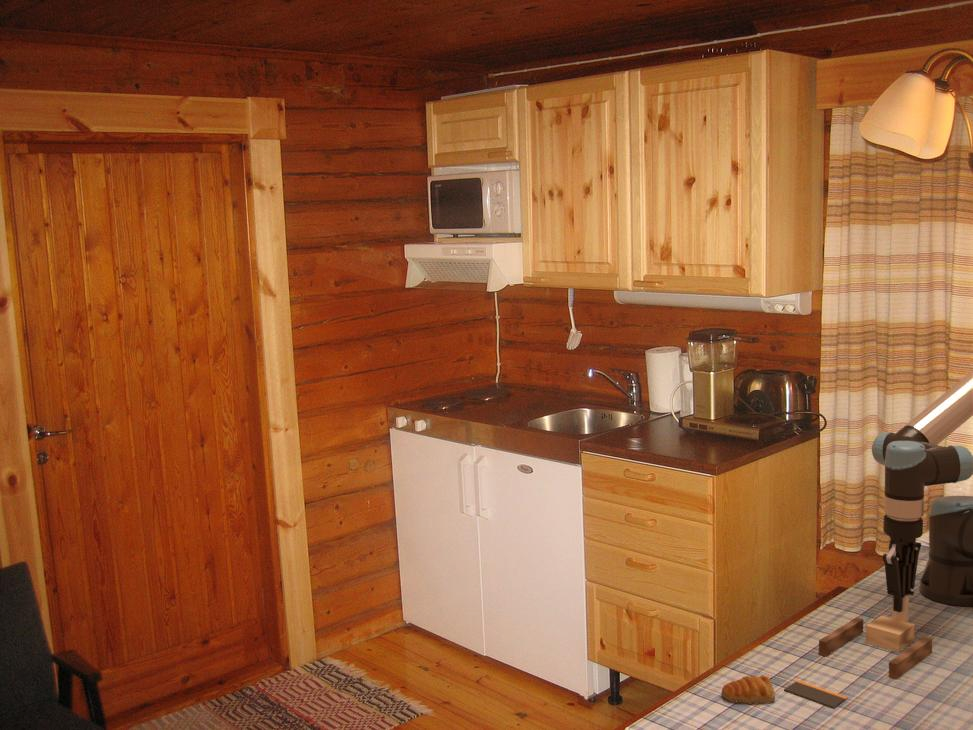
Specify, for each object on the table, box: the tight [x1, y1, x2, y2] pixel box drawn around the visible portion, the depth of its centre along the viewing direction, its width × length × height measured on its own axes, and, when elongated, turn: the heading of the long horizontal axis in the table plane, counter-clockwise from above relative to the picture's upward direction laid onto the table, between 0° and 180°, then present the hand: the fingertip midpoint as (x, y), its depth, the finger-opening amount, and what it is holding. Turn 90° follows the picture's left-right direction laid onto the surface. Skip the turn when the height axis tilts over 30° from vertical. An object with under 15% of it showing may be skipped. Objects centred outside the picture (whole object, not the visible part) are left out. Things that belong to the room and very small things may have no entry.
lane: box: [818, 616, 933, 680], centre depth 197 cm, size 16×16×3 cm
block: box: [865, 615, 915, 653], centre depth 202 cm, size 7×7×4 cm
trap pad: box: [783, 679, 848, 709], centre depth 181 cm, size 5×10×1 cm, turn 43°
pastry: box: [721, 674, 776, 705], centre depth 181 cm, size 9×7×4 cm
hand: (899, 624), depth 204 cm, fingers closed
